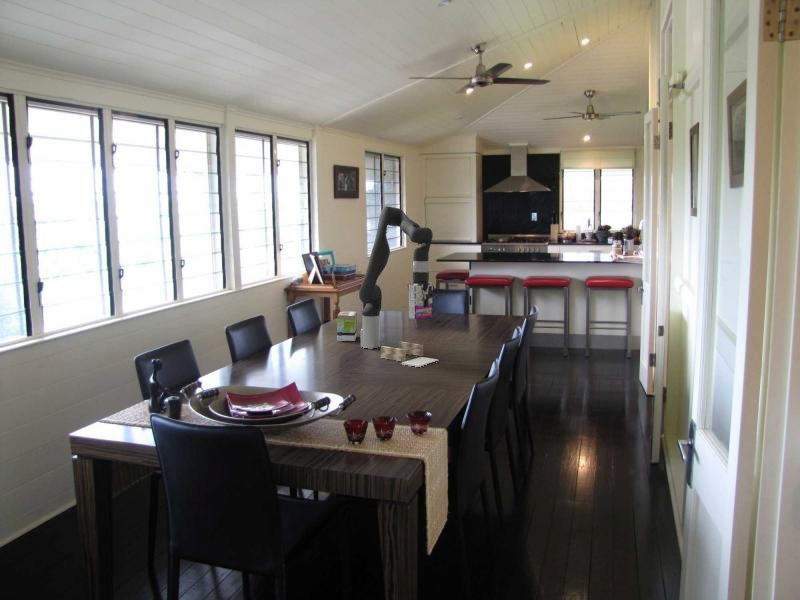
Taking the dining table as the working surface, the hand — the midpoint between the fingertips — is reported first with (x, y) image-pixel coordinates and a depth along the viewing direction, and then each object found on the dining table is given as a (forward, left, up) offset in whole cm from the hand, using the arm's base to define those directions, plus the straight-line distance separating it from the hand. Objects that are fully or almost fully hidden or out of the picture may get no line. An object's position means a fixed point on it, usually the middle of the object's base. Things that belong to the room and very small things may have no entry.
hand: (420, 306), depth 320 cm
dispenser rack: (-14, +4, -27) cm, 31 cm away
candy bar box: (0, 0, -6) cm, 6 cm away
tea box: (-66, +21, -28) cm, 74 cm away
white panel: (0, 0, -27) cm, 27 cm away
